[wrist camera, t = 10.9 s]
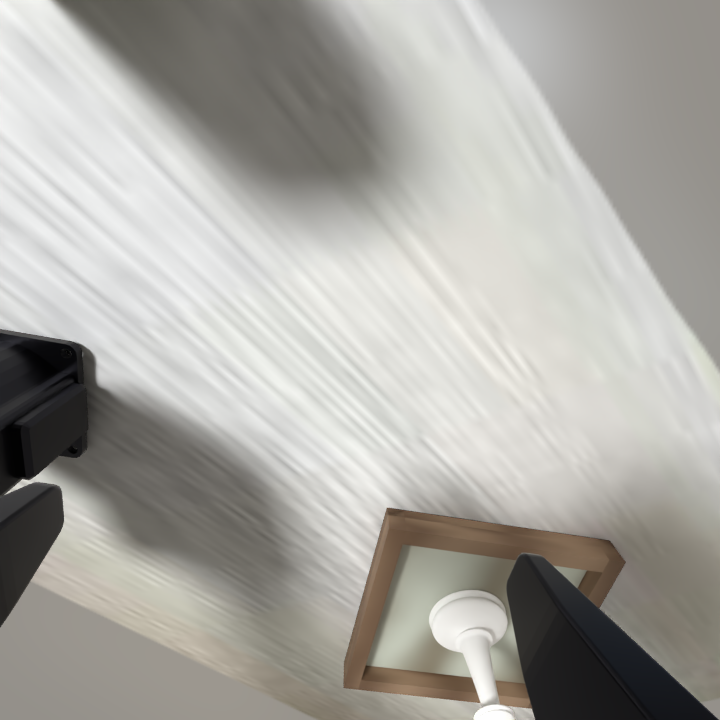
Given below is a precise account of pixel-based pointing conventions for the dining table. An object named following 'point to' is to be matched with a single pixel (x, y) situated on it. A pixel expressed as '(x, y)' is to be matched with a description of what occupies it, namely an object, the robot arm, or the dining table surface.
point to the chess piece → (474, 641)
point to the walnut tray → (445, 576)
